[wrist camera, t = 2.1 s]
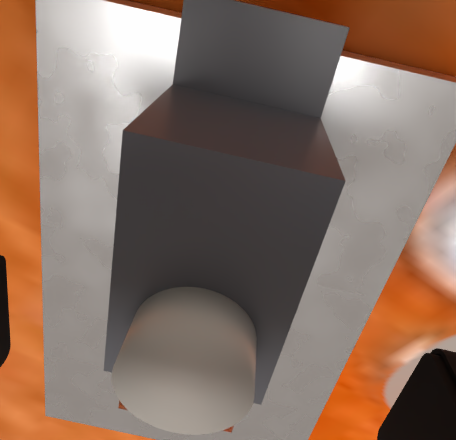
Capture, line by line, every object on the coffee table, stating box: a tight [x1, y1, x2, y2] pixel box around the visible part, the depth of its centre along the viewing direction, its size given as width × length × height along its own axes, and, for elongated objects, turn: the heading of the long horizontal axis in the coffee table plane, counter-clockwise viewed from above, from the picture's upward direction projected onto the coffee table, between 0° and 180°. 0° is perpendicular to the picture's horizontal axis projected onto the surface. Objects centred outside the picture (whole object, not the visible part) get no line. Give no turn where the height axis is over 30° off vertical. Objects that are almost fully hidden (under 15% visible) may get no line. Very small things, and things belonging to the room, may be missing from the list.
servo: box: [104, 0, 349, 435], centre depth 13 cm, size 12×4×10 cm, turn 168°
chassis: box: [36, 0, 456, 440], centre depth 21 cm, size 24×16×2 cm, turn 168°
